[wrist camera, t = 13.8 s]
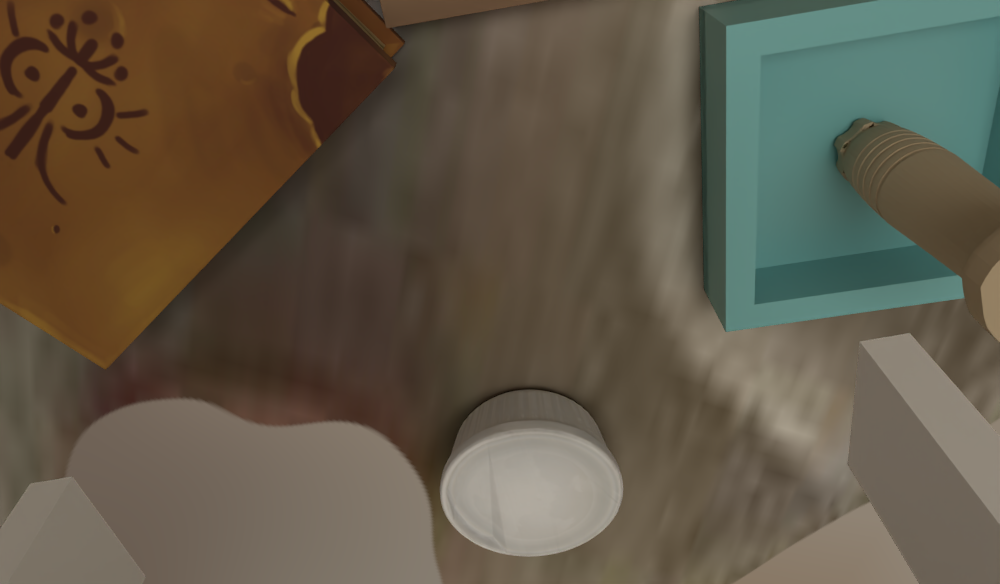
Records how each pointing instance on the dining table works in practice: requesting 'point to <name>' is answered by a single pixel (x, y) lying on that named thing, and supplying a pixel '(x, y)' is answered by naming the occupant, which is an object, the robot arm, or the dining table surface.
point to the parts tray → (831, 146)
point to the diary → (157, 142)
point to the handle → (931, 205)
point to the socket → (438, 9)
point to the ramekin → (530, 476)
